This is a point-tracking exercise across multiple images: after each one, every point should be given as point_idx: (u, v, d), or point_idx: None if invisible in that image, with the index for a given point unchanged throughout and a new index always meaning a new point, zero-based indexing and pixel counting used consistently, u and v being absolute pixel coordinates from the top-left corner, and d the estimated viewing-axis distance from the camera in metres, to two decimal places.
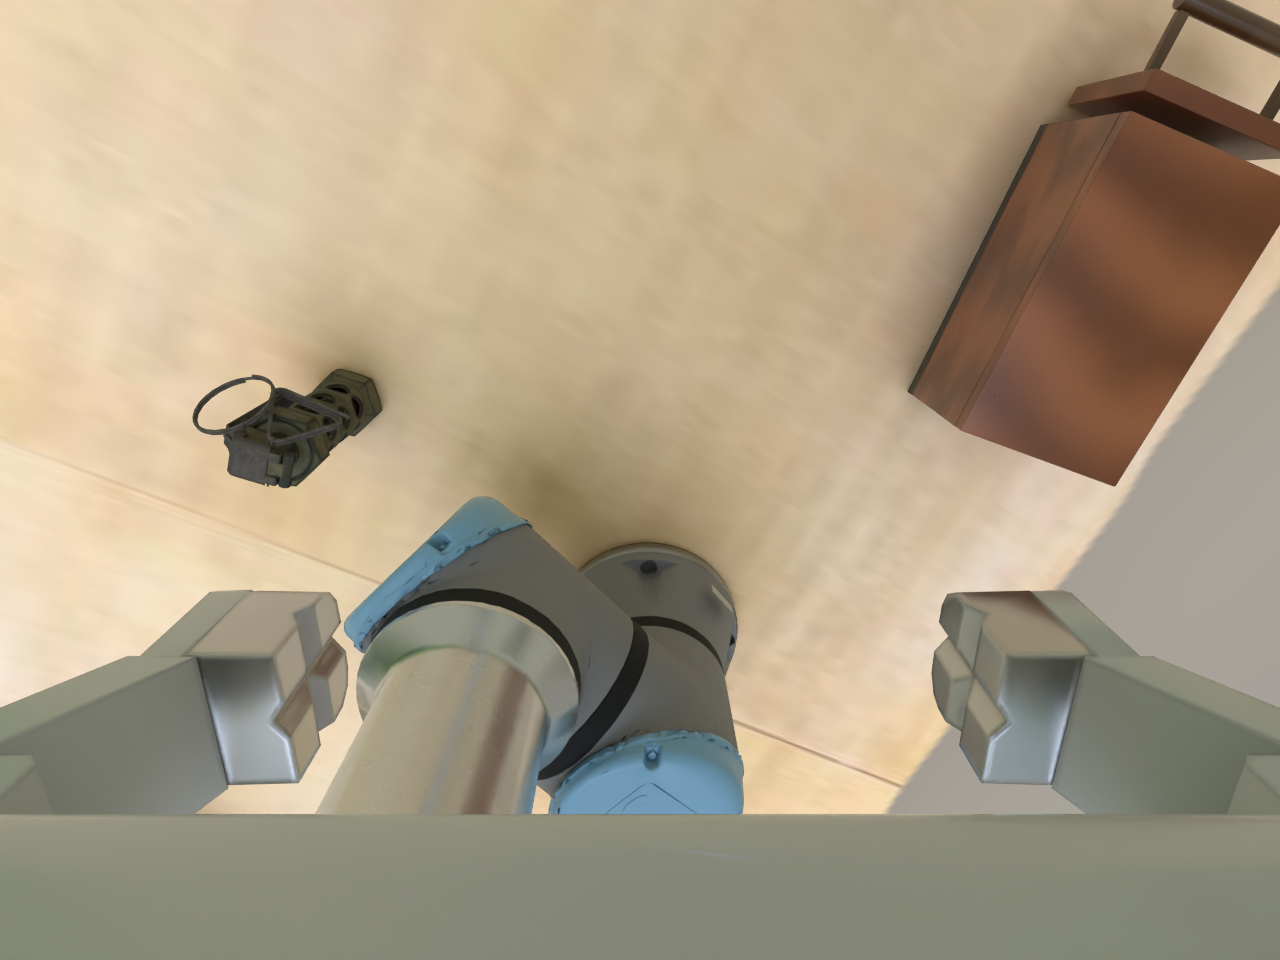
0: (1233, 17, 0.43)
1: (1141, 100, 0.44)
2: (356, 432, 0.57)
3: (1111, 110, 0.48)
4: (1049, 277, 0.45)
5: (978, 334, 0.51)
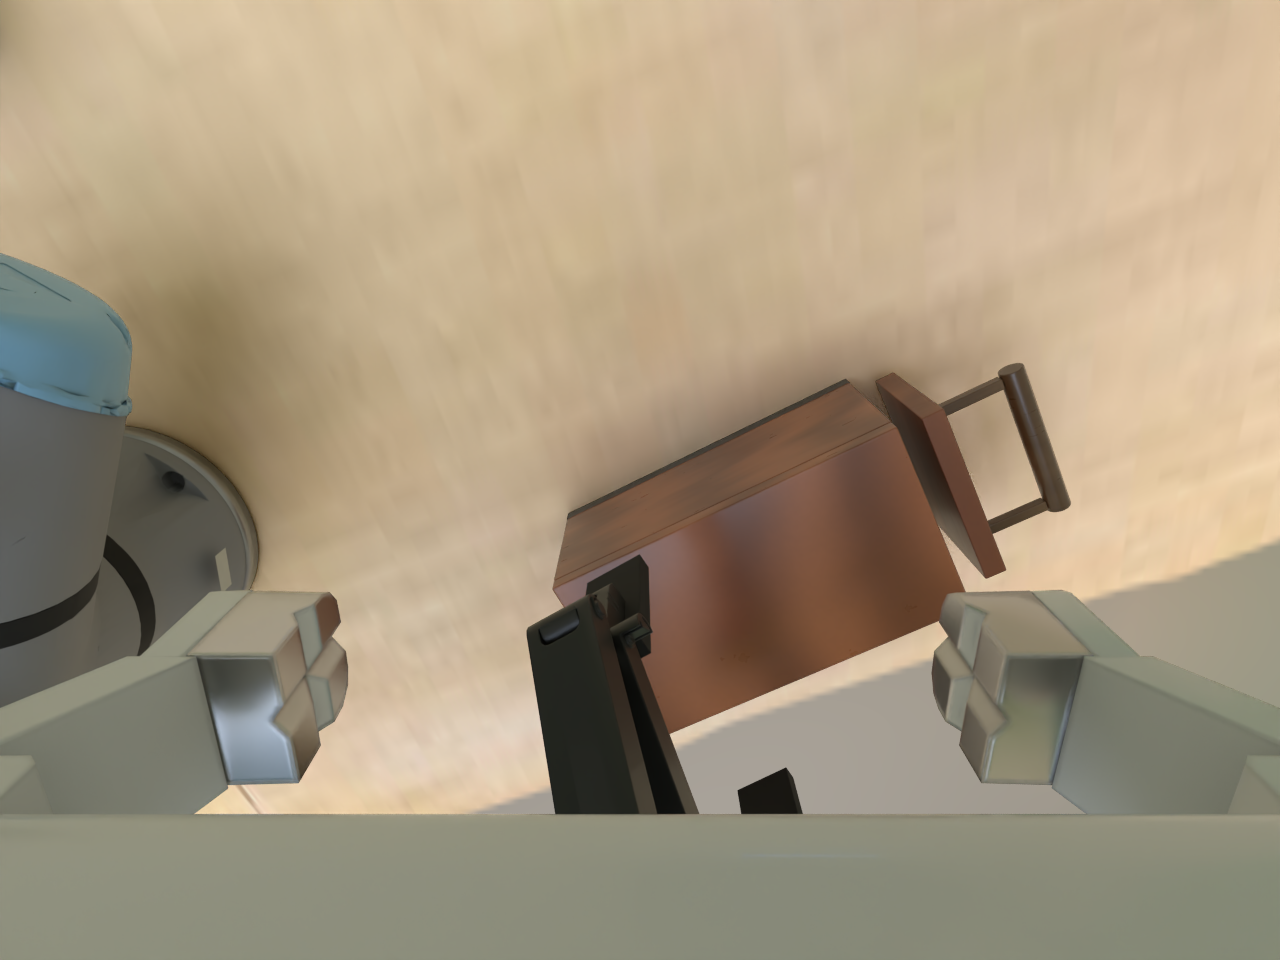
0: (1030, 422, 0.41)
1: (917, 427, 0.40)
2: None
3: (898, 415, 0.44)
4: (728, 514, 0.39)
5: (646, 513, 0.44)
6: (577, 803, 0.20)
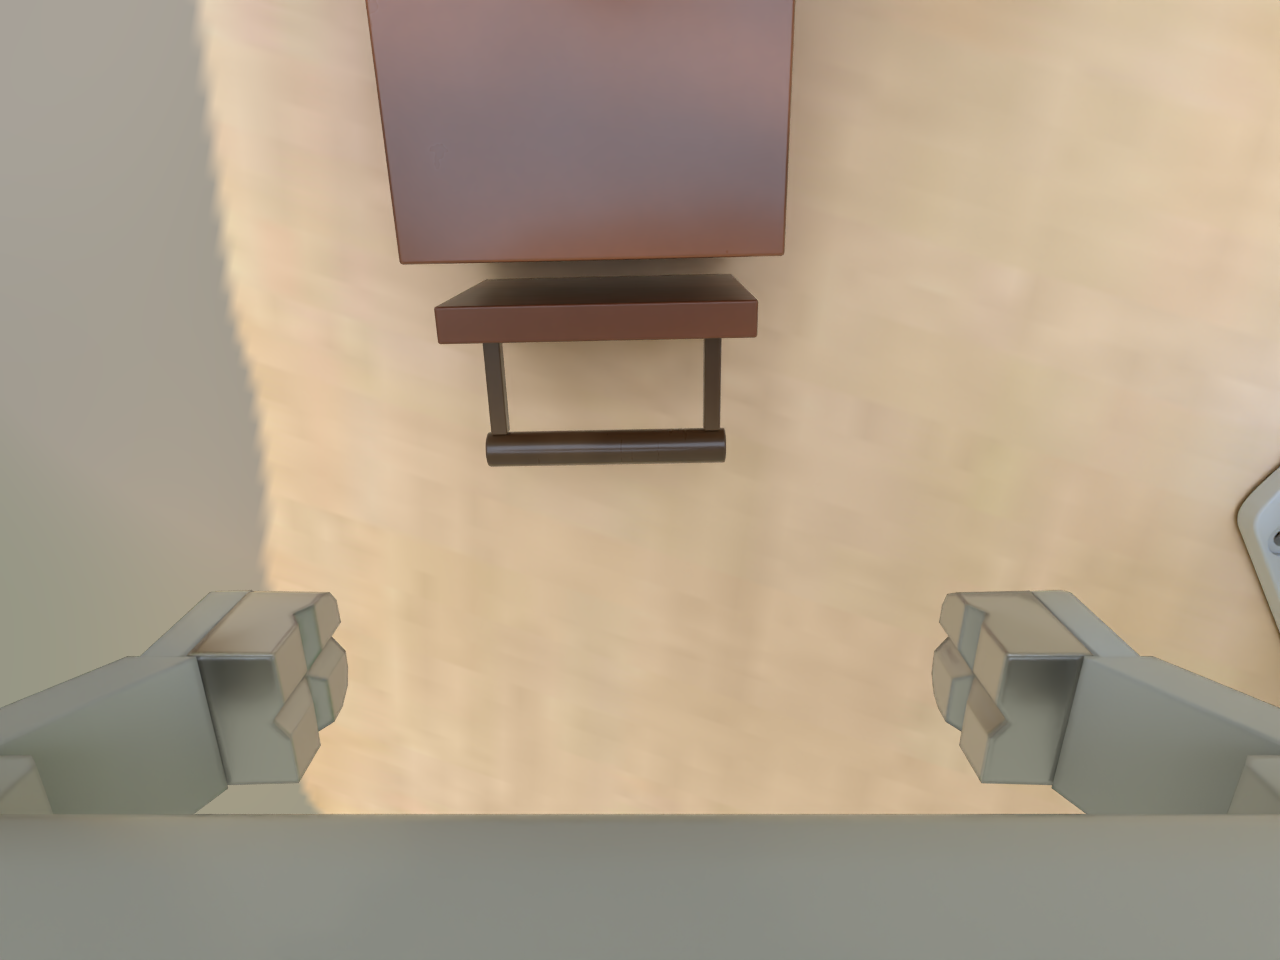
0: (644, 448, 0.28)
1: (721, 294, 0.25)
2: None
3: (698, 281, 0.29)
4: None
5: None
6: None
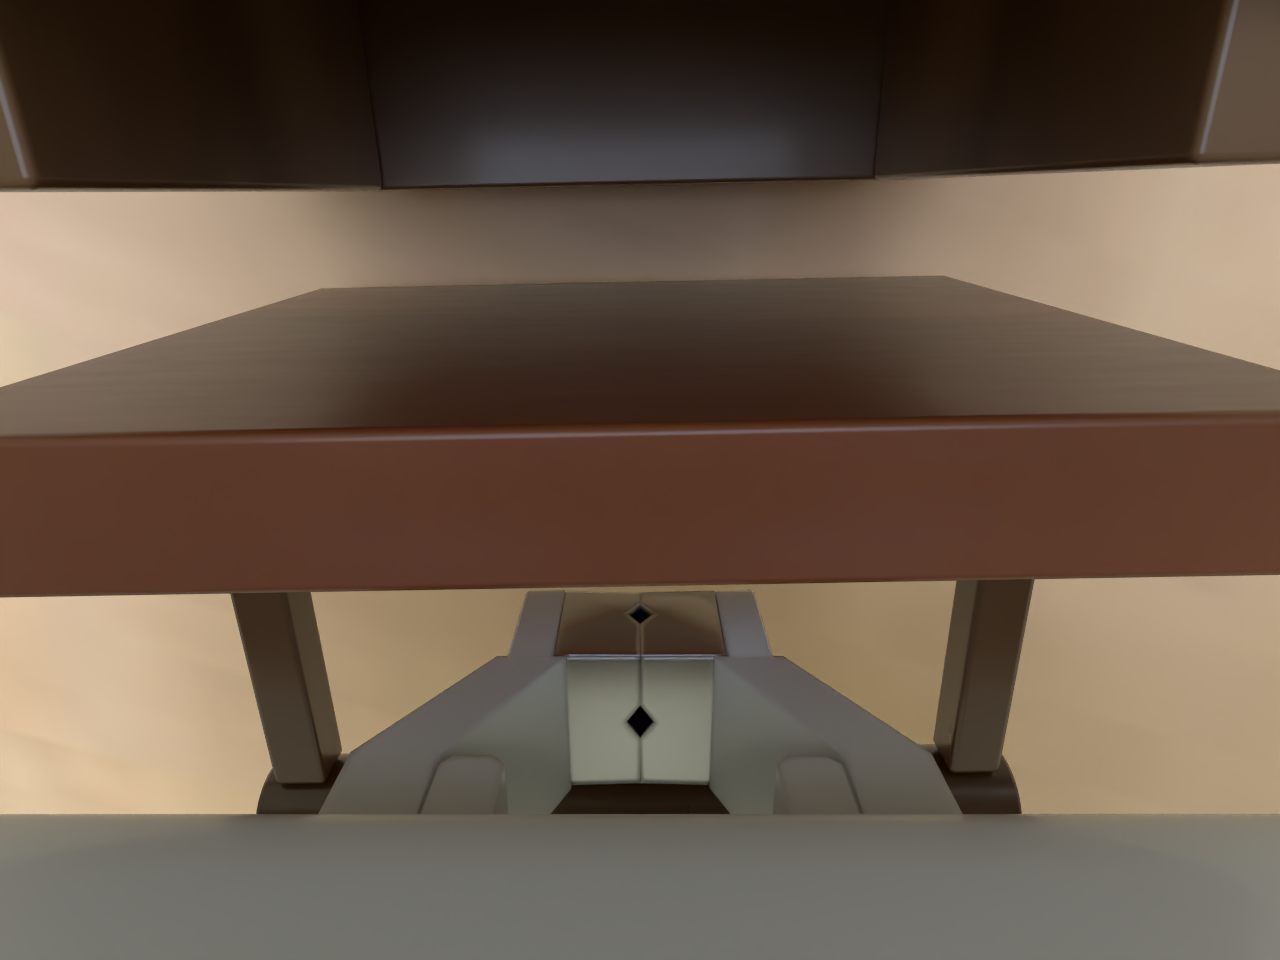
0: None
1: (1122, 359, 0.06)
2: None
3: (904, 299, 0.10)
4: None
5: None
6: None
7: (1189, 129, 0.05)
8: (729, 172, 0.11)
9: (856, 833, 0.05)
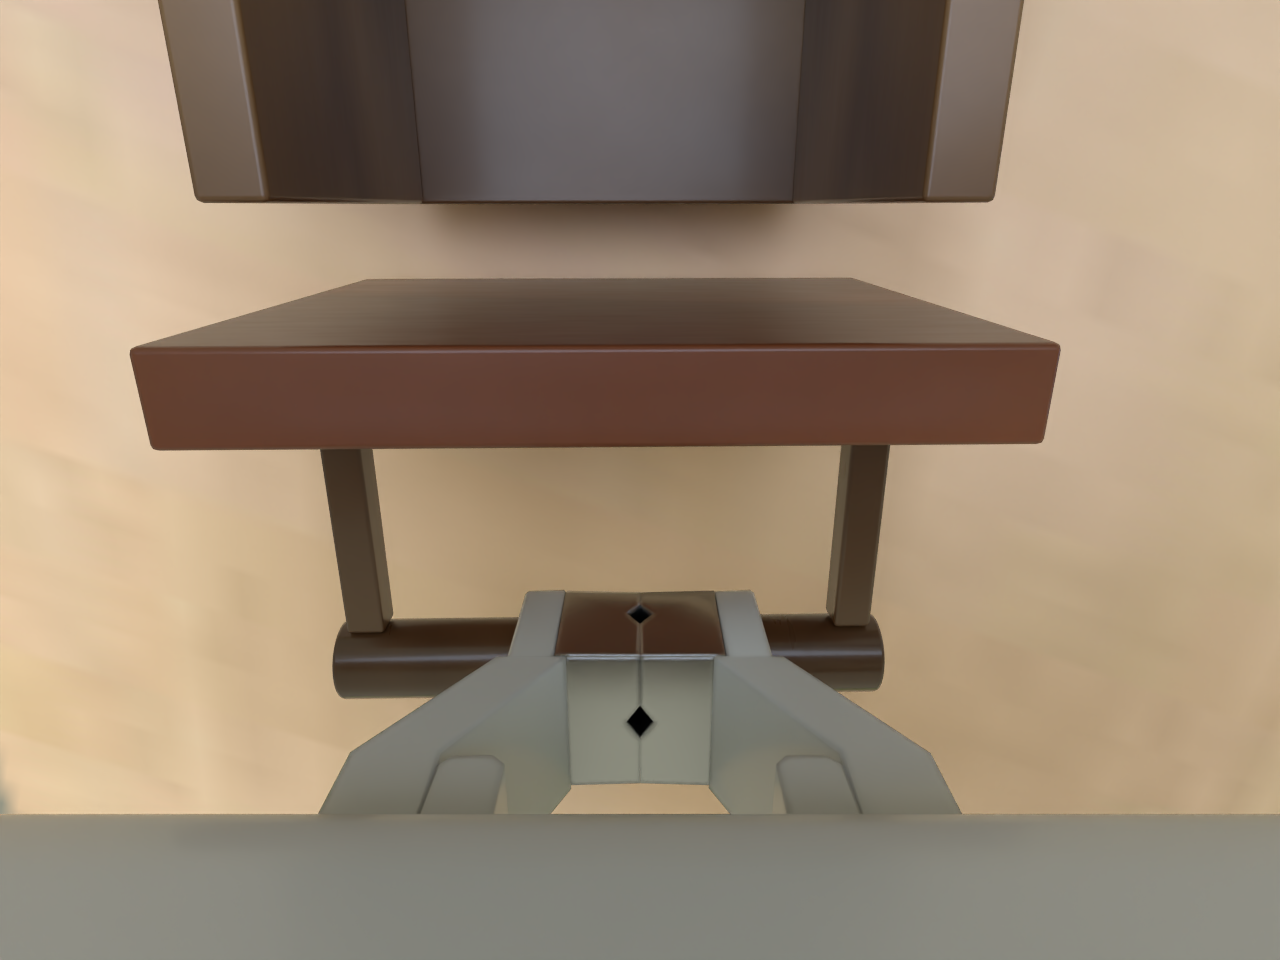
0: None
1: (921, 322, 0.10)
2: None
3: (810, 291, 0.14)
4: None
5: None
6: None
7: (922, 183, 0.08)
8: (684, 196, 0.14)
9: (856, 833, 0.05)
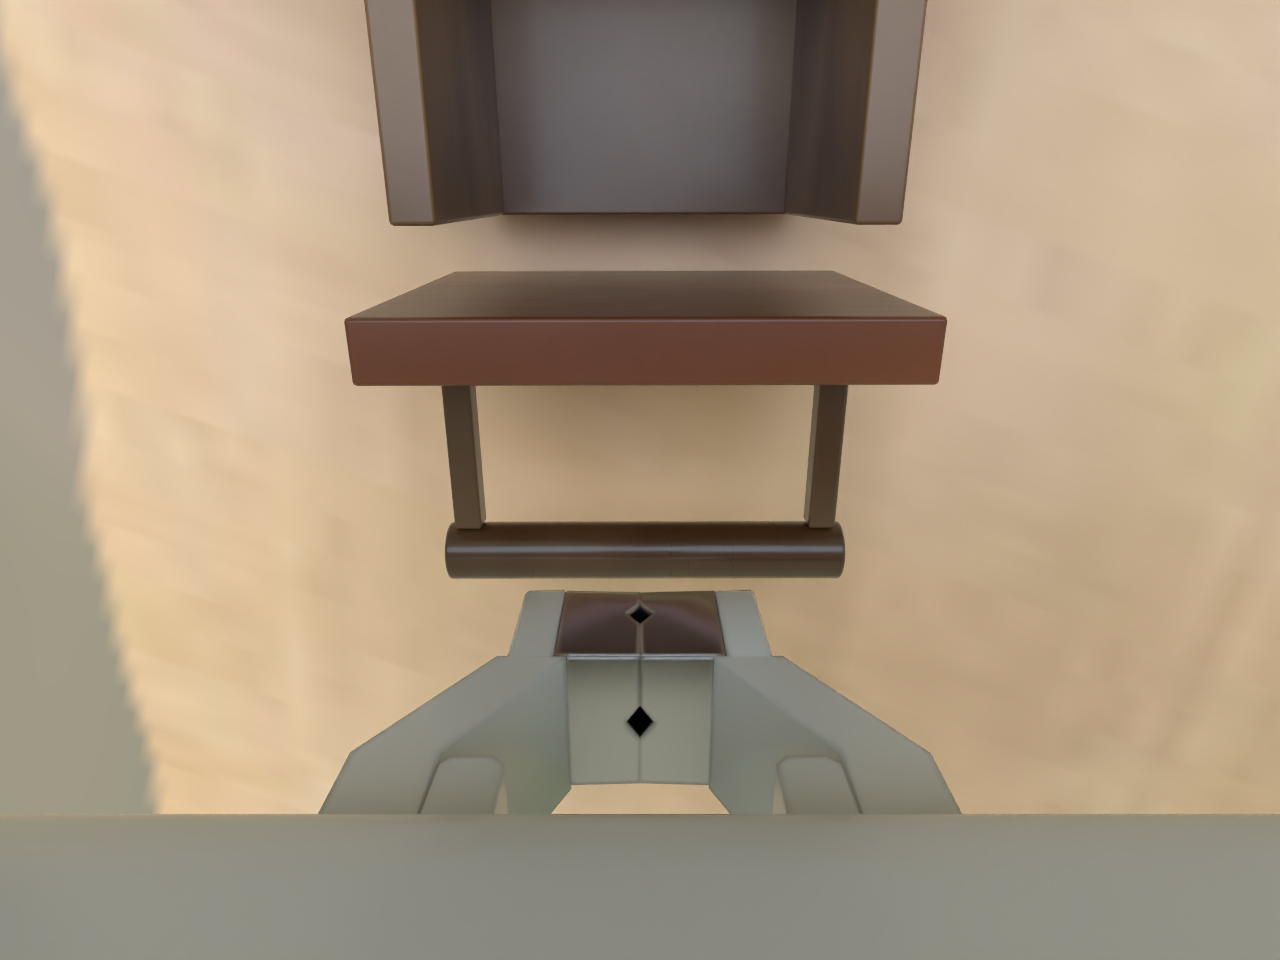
0: (709, 555, 0.17)
1: (863, 304, 0.14)
2: None
3: (795, 281, 0.18)
4: None
5: None
6: None
7: (854, 211, 0.13)
8: (701, 208, 0.19)
9: (856, 833, 0.05)
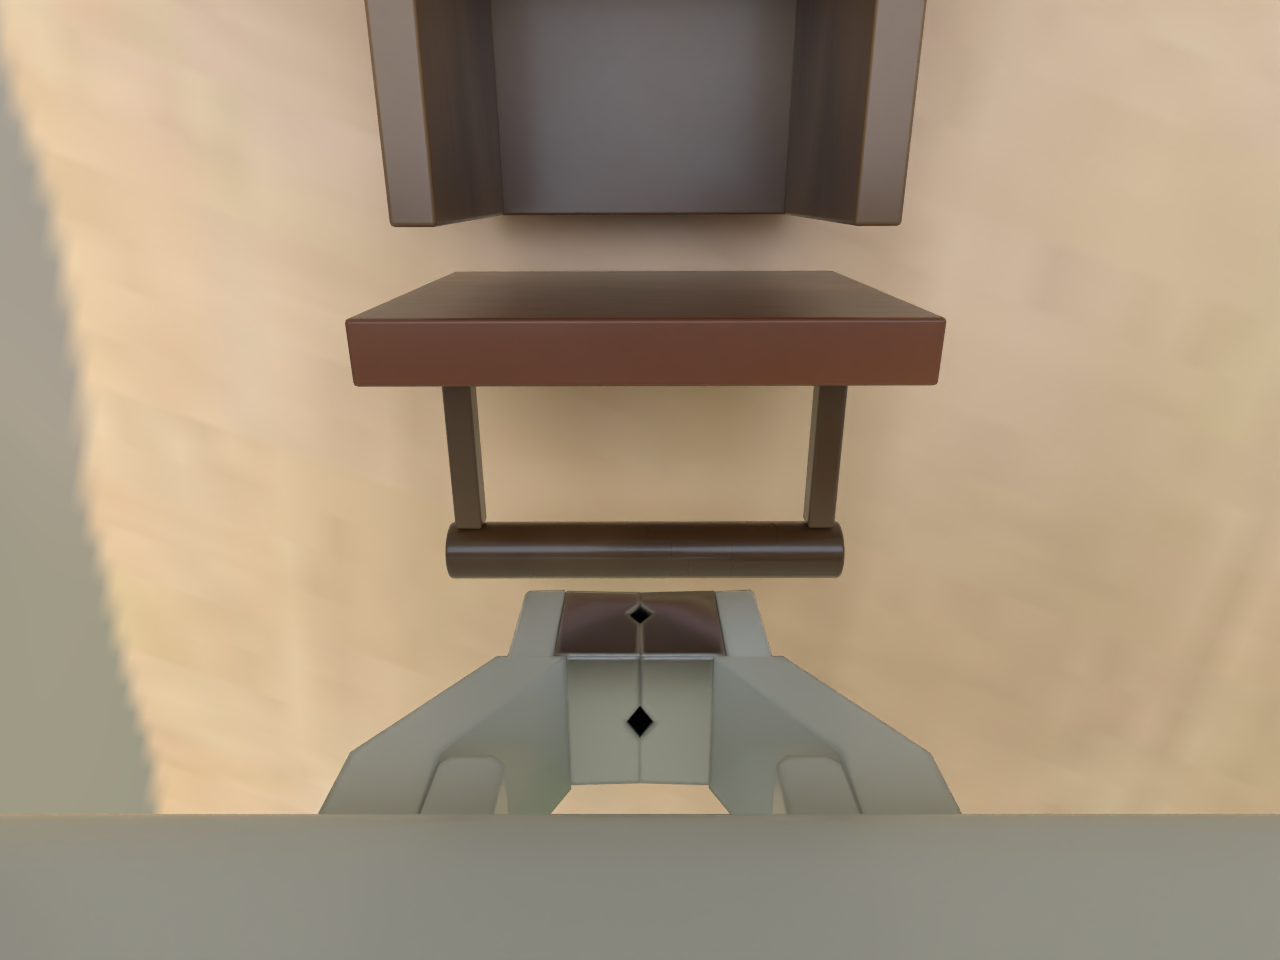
0: (709, 556, 0.17)
1: (863, 304, 0.14)
2: None
3: (795, 282, 0.18)
4: None
5: None
6: None
7: (854, 212, 0.13)
8: (701, 209, 0.19)
9: (856, 833, 0.05)
